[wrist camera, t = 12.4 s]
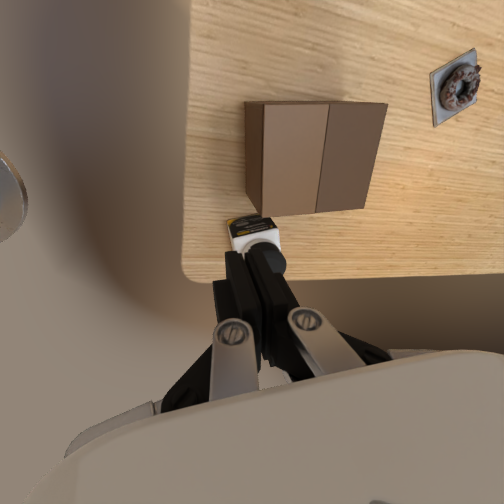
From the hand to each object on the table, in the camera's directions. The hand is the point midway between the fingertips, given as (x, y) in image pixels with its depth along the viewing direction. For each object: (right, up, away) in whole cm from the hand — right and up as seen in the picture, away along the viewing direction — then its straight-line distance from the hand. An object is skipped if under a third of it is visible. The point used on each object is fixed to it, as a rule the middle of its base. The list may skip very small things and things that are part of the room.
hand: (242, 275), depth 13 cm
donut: (+32, +27, +29) cm, 51 cm away
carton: (+7, +17, +28) cm, 34 cm away
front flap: (+5, +12, +19) cm, 23 cm away
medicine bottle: (0, +5, +34) cm, 35 cm away
